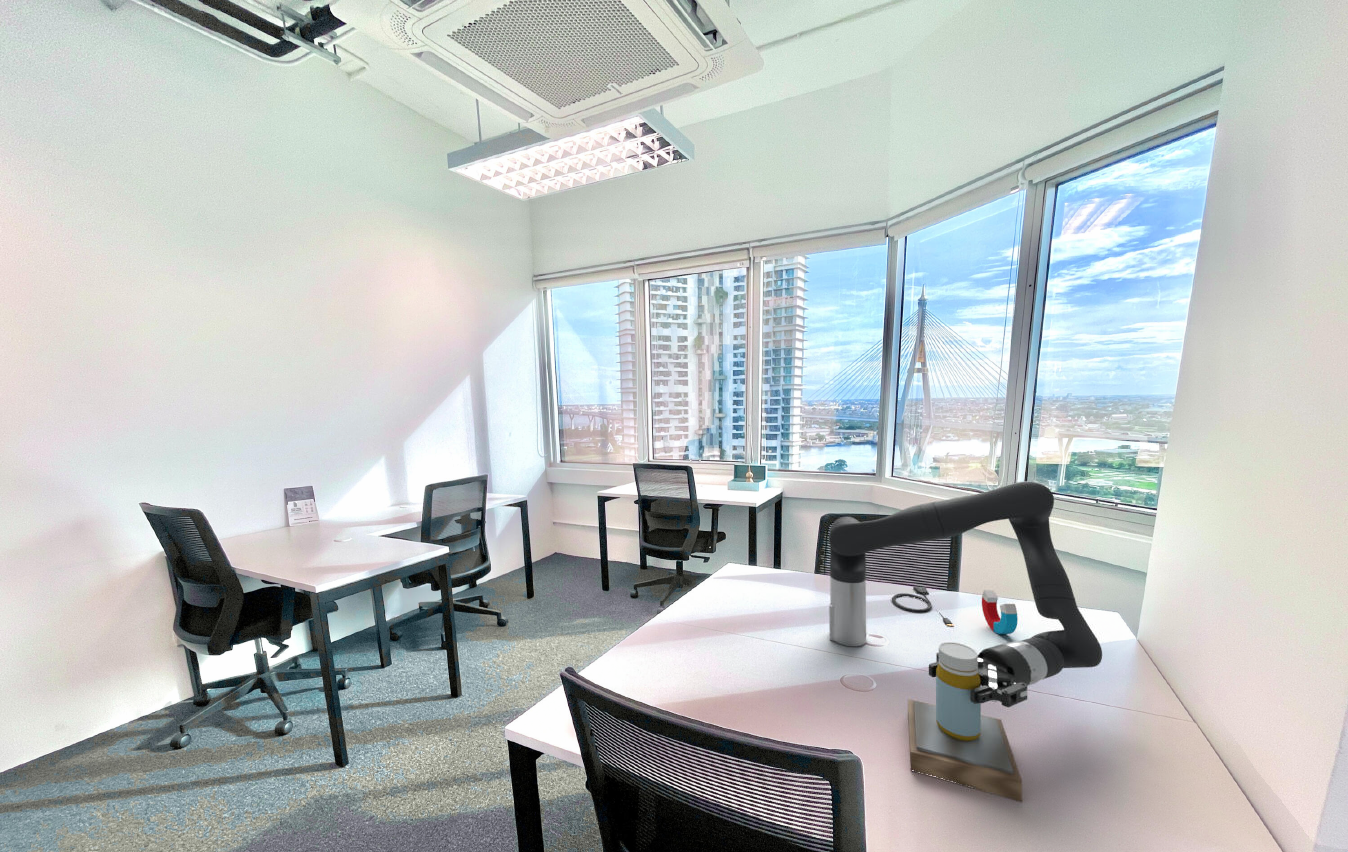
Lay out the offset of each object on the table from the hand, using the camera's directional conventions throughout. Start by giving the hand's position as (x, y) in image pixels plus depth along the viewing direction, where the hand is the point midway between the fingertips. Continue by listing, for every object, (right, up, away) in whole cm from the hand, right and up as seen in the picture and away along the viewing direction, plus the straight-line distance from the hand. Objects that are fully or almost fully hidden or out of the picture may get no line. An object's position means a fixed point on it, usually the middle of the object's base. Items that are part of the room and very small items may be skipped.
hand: (950, 683), depth 85 cm
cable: (+27, -11, +65) cm, 71 cm away
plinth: (+2, -13, +1) cm, 14 cm away
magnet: (+41, -11, +46) cm, 62 cm away
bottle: (+2, -10, +2) cm, 10 cm away
